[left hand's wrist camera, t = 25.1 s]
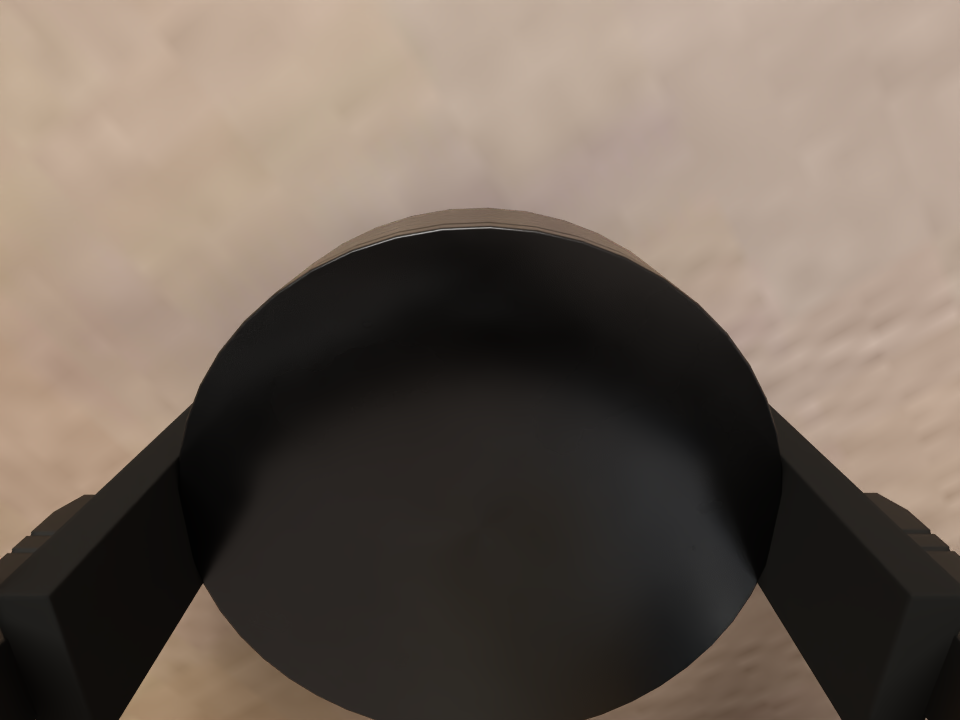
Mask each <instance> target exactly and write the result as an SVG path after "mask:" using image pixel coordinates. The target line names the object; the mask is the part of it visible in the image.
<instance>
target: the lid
mask: <svg viewBox="0 0 960 720" xmlns="http://www.w3.org/2000/svg"><path fill="white" fill-rule="evenodd" d="M178 491H179V496H180V501H181V506H182V511H183V515H184V520H185V524H186V529H187V534H188V538H189V543H190V547H191V552H192V556H193V560H194V563H195V565H196V568H197V570H198V572H199V575H200V577H201V579H202V581H203V584H204V585H205V587H206V589H207V590H208V592H209V593H210V595H211V597H212V598H213V600H214V602H215V603H216V605H217V607H218V608H219V610H220V611H221V613H222V614H223V615H224V616H225V618H226V619H227V620H228V621H229V623H230V624H231V625H232V626H233V628H234V629H235V630H236V631H237V633H238V634H239V635H240V636H241V637H242V638H243V639H244V640H245V641H246V642H247V643H248V644H249V645H250V646H251V647H252V648H253V649H254V650H255V651H256V652H257V653H258V654H259V655H260V656H261V657H262V658H263V659H265V660H266V661H267V662H268V663H270V664H271V665H272V666H274V667H275V668H276V669H277V670H279V671H280V672H281V673H283V674H284V675H285V676H287V677H288V678H289V679H291V680H292V681H294V682H296V683H297V684H299V685H301V686H302V687H304V688H306V689H307V690H309V691H310V692H312V693H314V694H315V695H317V696H319V697H321V698H323V699H325V700H327V701H330V702H332V703H334V704H336V705H338V706H340V707H342V708H344V709H346V710H349V711H352V712H355V713H357V714H360V715H363V716H366V717H369V718H371V719H374V720H586V719H589V718H592V717H595V716H599V715H602V714H604V713H606V712H609V711H611V710H613V709H616V708H618V707H621V706H623V705H625V704H628V703H630V702H632V701H634V700H636V699H638V698H639V697H641V696H643V695H645V694H647V693H648V692H650V691H652V690H654V689H656V688H657V687H659V686H661V685H662V684H664V683H665V682H667V681H668V680H670V679H671V678H672V677H674V676H675V675H677V674H678V673H679V672H681V671H682V670H684V669H685V668H687V667H688V666H689V665H690V664H691V663H692V662H693V661H695V660H696V659H697V658H698V657H699V656H700V655H701V654H702V653H704V652H705V651H706V650H707V649H708V648H709V647H710V646H711V645H712V644H713V643H714V642H715V641H716V640H717V639H718V638H719V636H720V635H721V634H722V633H723V632H724V631H725V630H726V629H727V627H728V626H729V625H730V624H731V623H732V622H733V620H734V619H735V618H736V616H737V615H738V613H739V612H740V610H741V609H742V607H743V606H744V604H745V603H746V601H747V600H748V599H749V597H750V596H751V594H752V592H753V590H754V588H755V586H756V584H757V582H758V580H759V578H760V576H761V574H762V572H763V570H764V568H765V566H766V563H767V559H768V555H769V551H770V546H771V542H772V537H773V533H774V528H775V524H776V519H777V515H778V510H779V506H780V501H781V495H782V462H781V455H780V448H779V441H778V434H777V430H776V427H775V424H774V420H773V417H772V414H771V411H770V408H769V404H768V401H767V398H766V396H765V394H764V392H763V390H762V388H761V386H760V384H759V382H758V380H757V378H756V376H755V374H754V372H753V370H752V368H751V366H750V364H749V363H748V362H747V360H746V359H745V357H744V356H743V355H742V353H741V352H740V350H739V349H738V348H737V346H736V345H735V343H734V342H733V341H732V339H731V338H730V336H729V335H728V334H727V332H726V331H725V330H724V329H723V328H722V327H721V326H720V325H719V324H718V323H717V322H716V321H715V320H714V319H713V318H712V317H711V316H710V315H709V314H708V313H707V312H706V311H705V310H704V309H703V308H702V307H701V306H700V305H699V304H698V303H697V302H695V301H694V300H693V299H692V298H690V297H689V296H688V295H686V294H685V293H684V292H683V291H681V290H680V289H679V288H678V287H676V286H675V285H674V284H672V283H671V282H670V281H669V280H667V279H666V278H665V277H663V276H662V275H661V274H660V273H658V272H657V271H656V270H654V269H653V268H652V267H650V266H649V265H648V264H646V263H645V262H644V261H642V260H641V259H640V258H638V257H637V256H636V255H635V254H633V253H632V252H631V251H629V250H627V249H625V248H623V247H622V246H620V245H618V244H616V243H614V242H613V241H611V240H609V239H607V238H605V237H604V236H602V235H600V234H598V233H596V232H593V231H590V230H588V229H585V228H582V227H580V226H577V225H575V224H572V223H569V222H567V221H564V220H561V219H556V218H552V217H548V216H543V215H539V214H535V213H531V212H526V211H516V210H505V209H494V208H473V209H449V210H444V211H438V212H432V213H427V214H421V215H415V216H411V217H408V218H404V219H401V220H398V221H395V222H392V223H389V224H386V225H383V226H380V227H376V228H374V229H372V230H370V231H368V232H366V233H364V234H362V235H360V236H358V237H356V238H353V239H351V240H349V241H347V242H345V243H343V244H342V245H340V246H339V247H337V248H336V249H334V250H333V251H331V252H330V253H328V254H327V255H325V256H324V257H322V258H321V259H319V260H318V261H316V262H315V263H313V264H312V265H311V266H309V267H308V268H307V269H305V270H304V271H303V272H302V273H300V274H299V275H298V276H296V277H295V278H294V279H293V280H291V281H290V282H289V283H287V284H286V285H285V286H284V287H282V288H281V289H280V290H278V291H277V292H276V293H275V294H274V295H272V296H271V297H270V298H269V299H268V300H267V301H266V302H265V303H264V304H262V305H261V306H260V307H259V308H258V309H257V310H256V311H255V312H254V313H253V314H251V315H250V316H249V317H248V318H247V319H246V320H245V321H244V322H243V323H242V324H241V326H240V327H239V328H238V329H237V331H236V332H235V333H234V334H233V335H232V337H231V338H230V339H229V340H228V342H227V343H226V344H225V345H224V347H223V348H222V349H221V350H220V351H219V353H218V355H217V356H216V358H215V360H214V362H213V363H212V365H211V367H210V368H209V370H208V372H207V374H206V375H205V377H204V379H203V380H202V382H201V384H200V386H199V389H198V391H197V394H196V397H195V399H194V402H193V404H192V407H191V410H190V412H189V415H188V417H187V421H186V426H185V430H184V435H183V440H182V445H181V450H180V457H179V479H178Z"/></svg>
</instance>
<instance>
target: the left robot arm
mask: <svg viewBox="0 0 960 720" xmlns="http://www.w3.org/2000/svg"><path fill="white" fill-rule="evenodd" d="M192 404H193V403H192ZM192 404H191V405H190V406H189V407H188V408H187V409H186V410H185V411H184V412H183V413H182V414H181V415H180V416H179V417H178V418H176V419H175V420H174V421H173V422H172V423H171V424H170V425H169V426H168V427H167V428H166V429H165V430H164V431H163V432H162V433H161V434H159V435H158V436H157V437H156V438H155V439H154V440H153V441H152V442H151V443H150V444H149V445H148V446H147V447H146V448H145V449H144V450H142V451H141V452H140V453H139V454H138V455H137V456H136V457H135V458H134V459H133V460H132V461H131V462H130V463H129V464H128V465H126V466H125V467H124V468H123V469H122V470H121V471H120V472H119V473H118V474H117V475H116V476H115V477H114V478H113V479H112V480H111V481H109V482H108V483H107V484H106V485H105V486H104V487H103V488H102V489H101V490H100V491H99V492H98V493H97V494H96V495H83V496H81V497H80V498H78V499H76V500H74V501H72V502H71V503H69V504H67V505H65V506H64V507H62V508H60V509H58V510H56V511H55V512H53V513H52V514H51V515H50V516H49V517H48V518H46V519H45V520H44V521H43V522H42V523H41V524H40V525H39V526H37V527H36V528H35V529H34V530H33V531H32V532H31V536H26V537H25V538H24V539H23V540H22V541H21V542H19V543H18V544H17V545H16V546H15V547H14V548H13V549H12V553H7V554H6V555H5V556H4V557H3V558H1V559H0V720H35V719H36V720H119V719H120V717H121V715H122V714H123V712H124V710H125V709H126V707H127V706H128V704H129V702H130V701H131V699H132V697H133V696H134V694H135V693H136V691H137V689H138V688H139V686H140V684H141V683H142V681H143V680H144V678H145V676H146V675H147V673H148V671H149V670H150V668H151V667H152V665H153V663H154V662H155V660H156V658H157V657H158V655H159V654H160V652H161V650H162V649H163V647H164V645H165V644H166V642H167V641H168V639H169V637H170V636H171V634H172V632H173V631H174V629H175V628H176V626H177V624H178V623H179V621H180V619H181V618H182V616H183V615H184V613H185V611H186V610H187V608H188V606H189V605H190V603H191V602H192V600H193V598H194V597H195V595H196V593H197V592H198V590H199V589H200V587H201V585H202V584H203V581H202V579H201V577H200V575H199V572H198V570H197V568H196V565H195V563H194V560H193V556H192V552H191V547H190V543H189V538H188V534H187V529H186V524H185V520H184V515H183V511H182V506H181V501H180V496H179V491H178V479H179V457H180V450H181V445H182V440H183V435H184V430H185V426H186V421H187V417H188V415H189V412H190V410H191V407H192ZM769 408H770V411H771V414H772V417H773V420H774V424H775V427H776V430H777V434H778V441H779V448H780V455H781V462H782V495H781V501H780V506H779V510H778V515H777V519H776V524H775V528H774V533H773V537H772V542H771V546H770V551H769V555H768V559H767V563H766V566H765V568H764V570H763V572H762V574H761V576H760V578H759V580H758V582H757V583H758V584H759V586H760V588H761V589H762V591H763V593H764V594H765V596H766V597H767V599H768V601H769V602H770V604H771V606H772V607H773V609H774V610H775V612H776V614H777V615H778V617H779V619H780V620H781V622H782V623H783V625H784V627H785V628H786V630H787V632H788V633H789V635H790V636H791V638H792V640H793V641H794V643H795V645H796V646H797V648H798V649H799V651H800V653H801V654H802V656H803V658H804V659H805V661H806V662H807V664H808V666H809V667H810V669H811V671H812V672H813V674H814V675H815V677H816V679H817V680H818V682H819V684H820V685H821V687H822V688H823V690H824V692H825V693H826V695H827V697H828V698H829V700H830V701H831V703H832V705H833V706H834V708H835V710H836V711H837V713H838V714H839V716H840V718H841V719H842V720H925V718H927V719H928V720H960V556H959V555H958V554H957V553H956V552H955V551H950V549H949V546H948V545H947V544H945V543H944V542H943V541H942V540H941V539H940V538H939V537H938V536H936V535H935V534H931V533H930V529H928V528H927V527H926V526H925V525H924V524H923V523H922V522H921V521H919V520H918V519H917V518H916V517H915V516H914V515H913V514H911V513H910V512H909V511H908V510H907V509H905V508H903V507H901V506H899V505H898V504H896V503H894V502H892V501H890V500H889V499H887V498H885V497H883V496H881V495H880V494H878V493H863V492H862V491H861V490H860V489H859V488H858V487H856V486H855V485H854V484H853V483H852V482H851V481H850V480H849V479H848V478H847V477H846V476H845V475H844V474H843V473H842V472H841V471H839V470H838V469H837V468H836V467H835V466H834V465H833V464H832V463H831V462H830V461H829V460H828V459H827V458H826V457H825V456H823V455H822V454H821V453H820V452H819V451H818V450H817V449H816V448H815V447H814V446H813V445H812V444H811V443H810V442H809V441H808V440H806V439H805V438H804V437H803V436H802V435H801V434H800V433H799V432H798V431H797V430H796V429H795V428H794V427H793V426H792V425H790V424H789V423H788V422H787V421H786V420H785V419H784V418H783V417H782V416H781V415H780V414H779V413H778V412H777V411H776V410H775V409H773V408H772V407H771V406H770V405H769Z"/></svg>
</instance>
